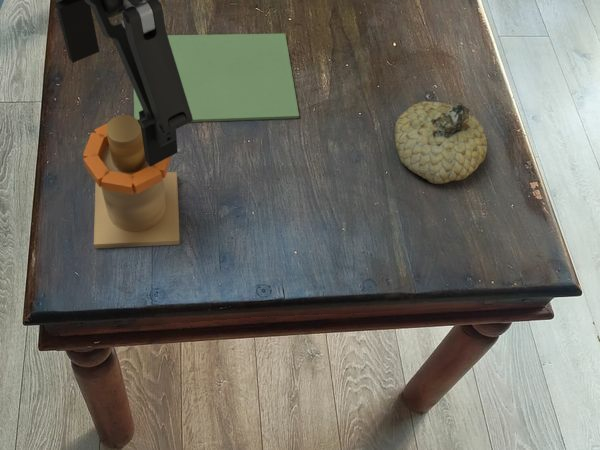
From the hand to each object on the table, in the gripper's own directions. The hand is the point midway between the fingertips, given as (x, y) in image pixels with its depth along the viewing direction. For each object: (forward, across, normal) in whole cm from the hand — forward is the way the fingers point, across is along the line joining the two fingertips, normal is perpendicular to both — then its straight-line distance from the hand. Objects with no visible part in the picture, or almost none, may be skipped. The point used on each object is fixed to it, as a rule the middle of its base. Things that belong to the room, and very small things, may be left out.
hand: (121, 104), depth 63 cm
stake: (+18, 0, 0) cm, 18 cm away
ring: (+8, 0, 0) cm, 8 cm away
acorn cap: (+19, -12, -35) cm, 41 cm away
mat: (+18, +12, -18) cm, 28 cm away
